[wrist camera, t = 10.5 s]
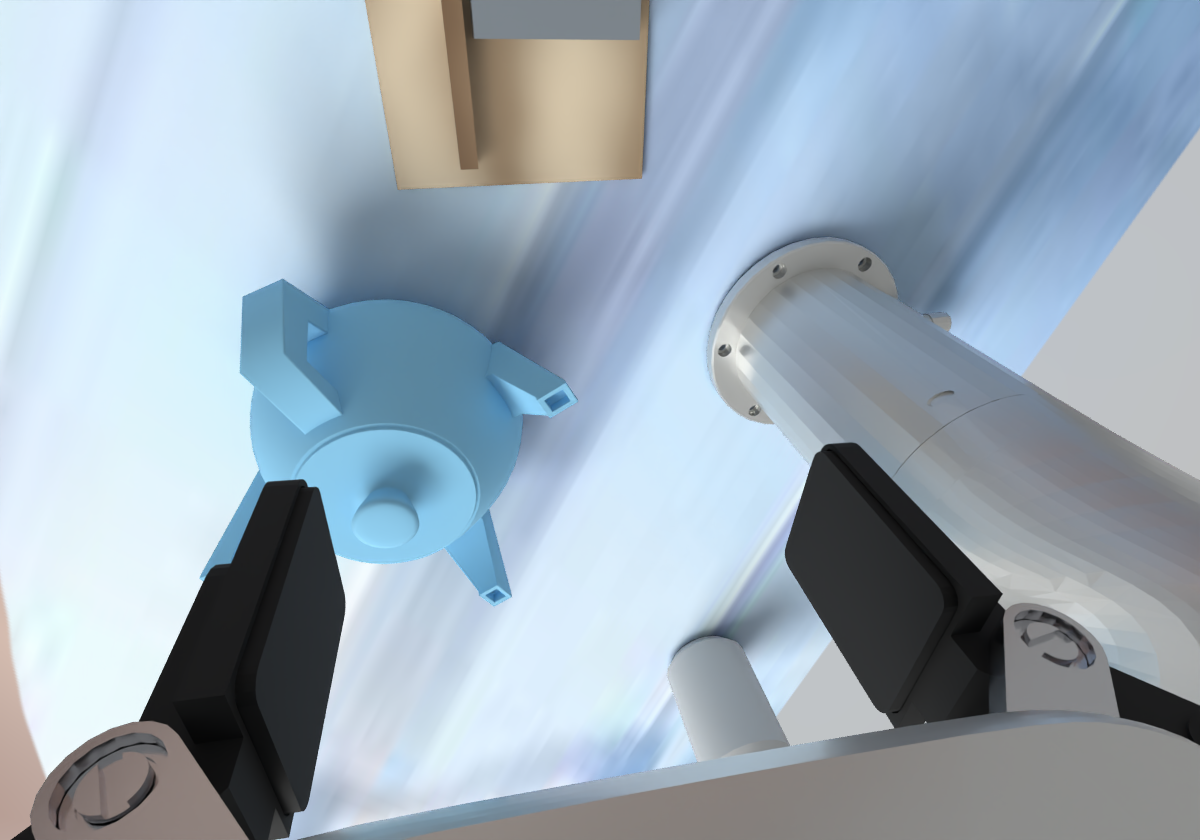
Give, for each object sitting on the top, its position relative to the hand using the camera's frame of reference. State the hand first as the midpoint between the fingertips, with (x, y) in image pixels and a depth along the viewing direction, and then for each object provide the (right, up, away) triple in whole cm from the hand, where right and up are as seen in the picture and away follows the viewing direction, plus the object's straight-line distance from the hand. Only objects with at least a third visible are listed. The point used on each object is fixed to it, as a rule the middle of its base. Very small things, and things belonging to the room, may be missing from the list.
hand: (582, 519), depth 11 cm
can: (+10, -20, +45) cm, 50 cm away
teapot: (-11, +3, +24) cm, 27 cm away
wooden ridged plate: (-3, +20, +15) cm, 25 cm away
